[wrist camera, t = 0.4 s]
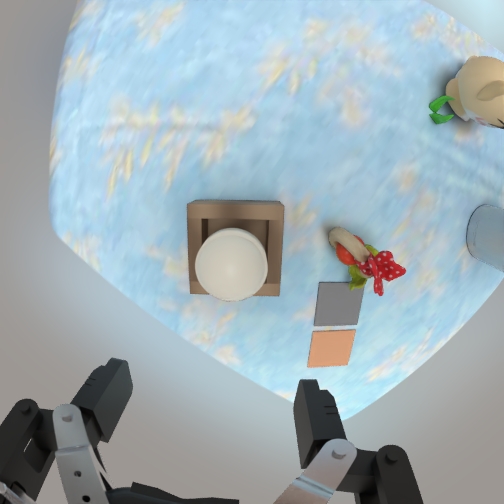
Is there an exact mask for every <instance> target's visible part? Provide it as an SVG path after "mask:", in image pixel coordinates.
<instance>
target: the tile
mask: <svg viewBox="0 0 504 504" xmlns="http://www.w3.org/2000/svg"><path fill="white" fill-rule="evenodd" d="M355 332H356V330H355V329H354V330H333V331H313V334H312V341H311V347H310V353H309V359H308V365H307V367H327V366H341V365H348V361H349V357H350V353H351V349H352V345H353V341H354V336H355Z"/></svg>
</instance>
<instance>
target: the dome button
mask: <svg viewBox="0 0 504 504" xmlns="http://www.w3.org/2000/svg"><path fill="white" fill-rule="evenodd" d="M195 271H196V275H197V278H198V281H199V282H200V284H201V286H202V287H203V288H204V289H205V290H206V291H207V292H208V293H209V294H210V295H212V296H214V297H216V298H218V299H221V300H224V301H240V300H244V299H247V298H249V297H251V296H252V295H254V294H255V293H256V292H257V291H258V290H259V289H260V288H261V287H262V285H263V284H264V282H265V279H266V277H267V271H268V264H267V258H266V253H265V250H264V247H263V245H262V244H261V242H260V241H259V240H258V239H257V238H256V237H255V236H254V235H253V234H251V233H250V232H248V231H245V230H243V229H239V228H226V229H222V230H219V231H217V232H215V233H213V234H212V235H211V236H209V237H208V238H207V240H206V241H205V242H204V244H203V245H202V247H201V248H200V250H199V252H198V254H197V257H196V261H195Z"/></svg>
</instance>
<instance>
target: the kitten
mask: <svg viewBox="0 0 504 504" xmlns="http://www.w3.org/2000/svg"><path fill="white" fill-rule="evenodd" d="M447 101H448V102H449V104H450V106H451V108H452V109H453V111H454V112H455V113H456V114H457V115H458V116H459V117H461V118H462V119H463V120H464V121H468V120H470V119H473V120H474V121H476V122H477V123H479V124H482V125H484V126H488V127H493V128H501V129H504V62H502V61H500V60H498V59H496V58H492V57H486V56H481V57H477V56H472V57H470V58H469V59H468V60H467V61H466V63H465V64H464V65H463V66H462V68H461V69H460V70H459V71H458V73H457V74H456V76H455V78H454V79H451V80H450V81H449V82H448V84H447V86H446V96H441V97H439V98H438V99H436V100H435V101H434V102H432V103H430V106H429V108H430V109H431V110H432V111H434V112H435V113H432V114H429V115H430V116H431V117H432V119H433V120H434V121H435V123H436V124H439V123H445V122H447V121H449V120H450V119H451V118H452V117H453V116H454V115H446V116H442V115H440V114H437V113H436V112H437V111H438V110H439V108H440V107H441V106H442V105H443V104H444V103H445V102H447Z"/></svg>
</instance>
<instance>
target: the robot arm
mask: <svg viewBox="0 0 504 504" xmlns="http://www.w3.org/2000/svg"><path fill="white" fill-rule="evenodd" d="M467 244H468V248H469V251H470V253H471V255H472V256H473V257H474V258H476V259H478V260H480V261H482V262H484V263H486V264H488V265H490V266H492V267H494V268H496V269H498V270H500V271H502V272H504V209H502V208H498V207H493V206H489V205H482V206H480V207H478V208H477V209H476V210H475V212H474V213H473V215H472V217H471V219H470V222H469V225H468V230H467ZM132 389H133V384H132V380H131V375H130V371H129V366H128V362H127V361H126V360H121V359H116V358H111V359H110V360H109V361H108V363H107V364H106V365H105V366H102V365H101V366H99V367H98V368H96V369H95V370H94V371H93V372H92V373H91V375H90V376H89V378H88V379H87V380H86V382H85V384H83V386H82V387H81V388H80V390H79V391H78V393H77V394H76V396H75V397H74V398H73V400H72V402H71V403H70V404H62V405H60V406H58V407H56V409H55V410H47V409H40V408H39V407H38V405H37V403H36V402H35V401H33V400H31V399H22V400H20V401H18V402H17V403H16V404H15V406H14V407H13V408H12V410H11V411H10V413H9V414H8V415H7V417H6V418H5V420H4V421H3V422H2V424H1V426H0V504H36V503H35V501H36V499H37V497H38V494H39V492H40V489H41V487H42V485H43V483H44V480H45V478H46V476H47V474H48V472H49V469H50V467H51V465H52V463H53V461H54V459H55V457H56V461H57V465H58V470H59V474H60V477H61V481H62V484H63V488H64V492H65V495H66V498H67V501H68V504H239V500H236V499H223V498H213V497H211V498H196V499H182V498H179V497H177V496H174V495H172V494H170V493H167V492H165V491H162V490H160V489H158V488H155V487H151V486H147V485H143V484H139V483H135V482H133V483H132V486H131V487H121V488H115V486H114V484H113V482H112V481H111V479H110V477H109V474H108V472H107V469H106V467H105V464H104V461H103V459H102V456H101V453H100V451H99V448H98V446H97V445H98V443H99V441H103V442H107V443H108V442H109V440H110V438H111V436H112V434H113V431H114V429H115V427H116V425H117V423H118V421H119V419H120V417H121V415H122V413H123V411H124V409H125V406H126V405H127V402H128V401H129V399H130V397H131V394H132ZM294 420H295V427H296V434H297V442H298V449H299V457H300V464H301V469H306V470H305V471H304V472H303V473H302V474H301V476H300V477H299V478H296V479H295V480H294V481H293V482H292V483H291V484H290V485H289V487H288V488H287V489H286V490H285V491H284V492H283V493H282V495H280V497H279V498H278V499H277V500H276V501H275V502H274V503H273V504H327V502H328V501H329V499H330V498H331V497H332V495H333V493H334V491H335V490H336V491H344V492H352V493H354V496H355V502H356V504H423V500H422V497H421V494H420V491H419V488H418V485H417V482H416V479H415V476H414V473H413V470H412V467H411V465H410V462H409V459H408V456H407V454H406V452H405V451H404V450H403V449H402V448H401V447H399V446H396V445H386V446H384V447H382V448H380V449H379V451H378V452H376V451H366V450H360V449H357V448H356V447H355V446H354V445H353V444H352V443H351V442H350V441H348V440H347V438H346V435H345V432H344V429H343V425H342V422H341V419H340V415H339V414H338V409H337V407H336V403H335V399H334V397H333V396H332V395H331V394H330V392H329V391H328V390H320V389H319V385H318V382H317V380H316V379H301V380H300V381H299V384H298V388H297V393H296V397H295V401H294ZM30 439H31V441H30ZM29 441H30V443H29V445H28V446H27V444H28V442H29ZM26 446H27V448H26V450H25V452H24V449H25V447H26Z"/></svg>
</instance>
